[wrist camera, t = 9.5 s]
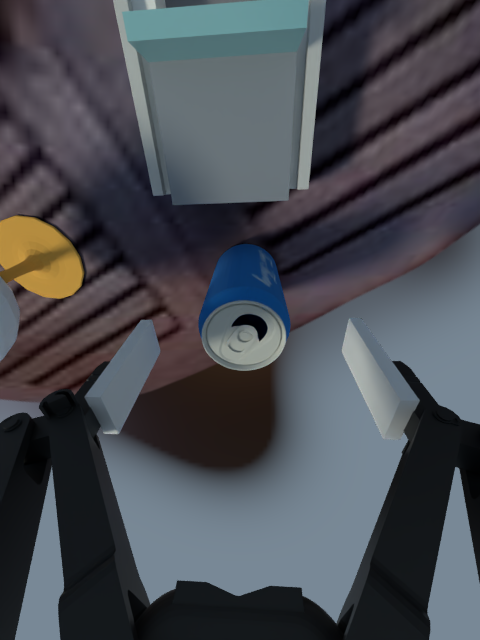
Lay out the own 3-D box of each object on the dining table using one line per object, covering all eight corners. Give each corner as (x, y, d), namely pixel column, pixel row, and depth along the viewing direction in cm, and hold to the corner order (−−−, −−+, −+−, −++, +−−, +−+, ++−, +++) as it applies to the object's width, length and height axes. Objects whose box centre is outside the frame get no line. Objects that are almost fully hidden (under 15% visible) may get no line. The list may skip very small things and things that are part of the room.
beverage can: (288, 263, 26) (314, 327, 16) (254, 308, 29) (257, 386, 19) (235, 229, 24) (225, 275, 14) (205, 280, 27) (179, 350, 17)
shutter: (175, 203, 20) (161, 211, 17) (149, 44, 15) (121, 11, 12) (287, 199, 20) (294, 205, 16) (296, 33, 15) (308, -4, 12)
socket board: (167, 191, 22) (153, 195, 19) (84, -275, 12) (22, -439, 9) (299, 185, 22) (308, 189, 19) (338, -312, 11) (373, -503, 8)
